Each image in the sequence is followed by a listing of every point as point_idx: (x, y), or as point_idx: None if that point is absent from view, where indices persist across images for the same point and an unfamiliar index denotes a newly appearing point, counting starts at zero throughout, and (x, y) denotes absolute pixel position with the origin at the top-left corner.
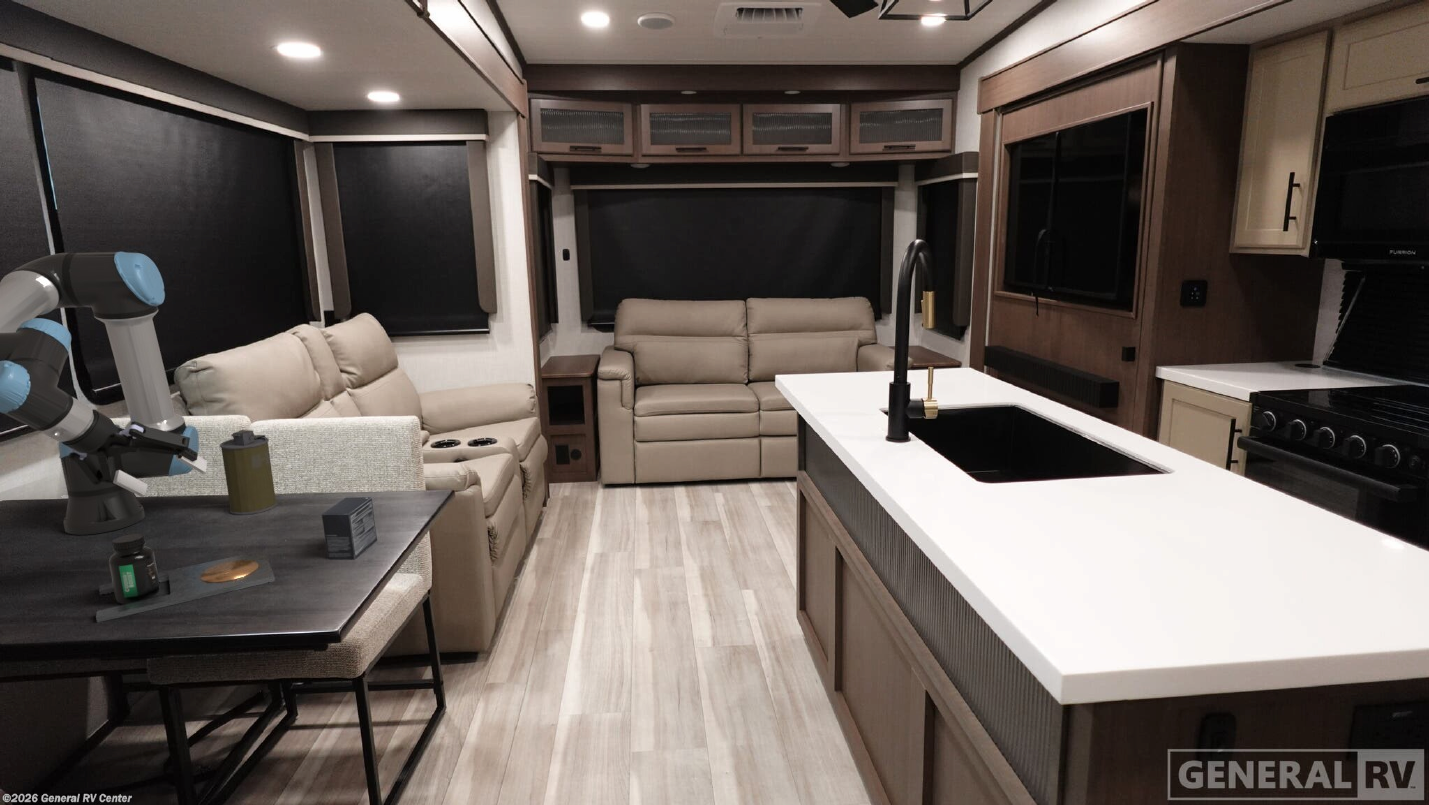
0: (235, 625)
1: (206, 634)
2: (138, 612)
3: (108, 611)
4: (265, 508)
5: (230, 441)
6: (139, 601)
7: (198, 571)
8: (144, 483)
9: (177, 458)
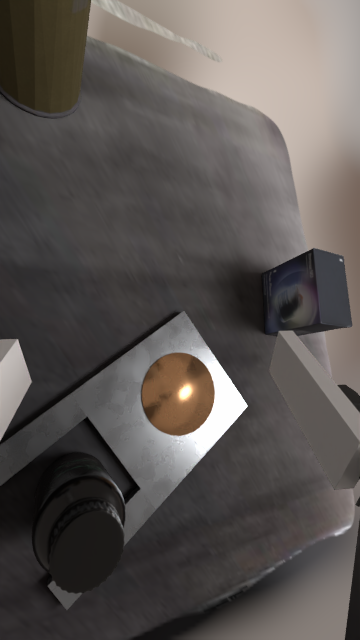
0: (269, 540)
1: (252, 575)
2: None
3: None
4: (73, 105)
5: None
6: None
7: (130, 395)
8: (10, 349)
9: (335, 482)
